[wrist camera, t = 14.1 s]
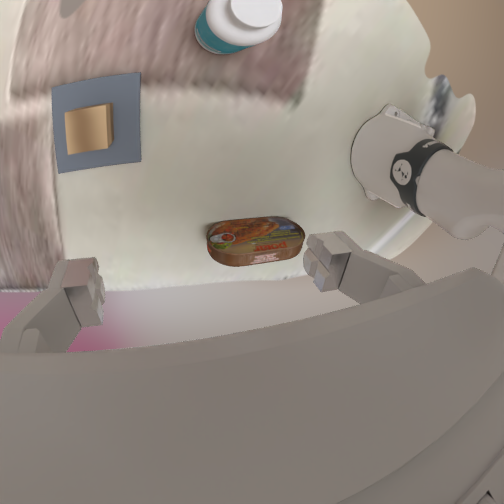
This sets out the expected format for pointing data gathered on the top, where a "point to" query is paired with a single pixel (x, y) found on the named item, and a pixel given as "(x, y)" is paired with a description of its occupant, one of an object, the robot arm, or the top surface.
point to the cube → (89, 128)
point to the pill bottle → (237, 24)
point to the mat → (124, 119)
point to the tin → (254, 241)
